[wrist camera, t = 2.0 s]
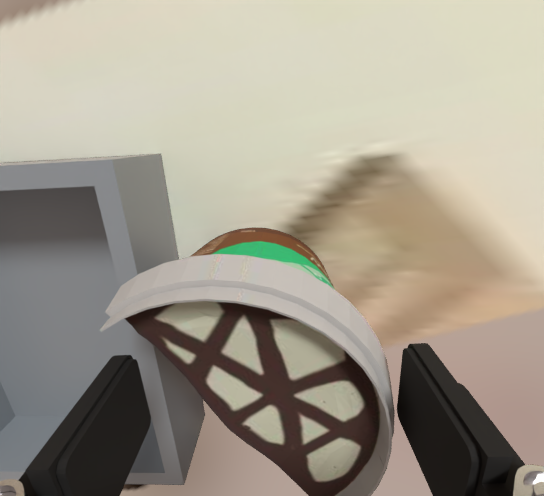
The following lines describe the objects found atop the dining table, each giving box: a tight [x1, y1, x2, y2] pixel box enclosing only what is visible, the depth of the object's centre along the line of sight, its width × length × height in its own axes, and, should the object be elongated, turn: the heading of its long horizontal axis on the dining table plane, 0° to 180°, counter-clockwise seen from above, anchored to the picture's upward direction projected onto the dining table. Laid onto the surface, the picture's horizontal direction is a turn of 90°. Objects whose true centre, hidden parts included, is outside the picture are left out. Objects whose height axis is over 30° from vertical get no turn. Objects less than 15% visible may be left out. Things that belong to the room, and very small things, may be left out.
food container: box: [100, 228, 394, 496], centre depth 14 cm, size 12×6×10 cm, turn 38°
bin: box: [0, 154, 205, 485], centre depth 18 cm, size 15×19×5 cm
